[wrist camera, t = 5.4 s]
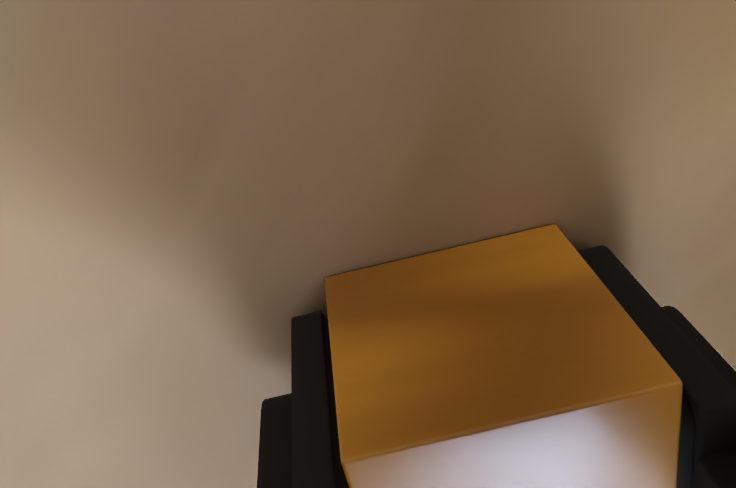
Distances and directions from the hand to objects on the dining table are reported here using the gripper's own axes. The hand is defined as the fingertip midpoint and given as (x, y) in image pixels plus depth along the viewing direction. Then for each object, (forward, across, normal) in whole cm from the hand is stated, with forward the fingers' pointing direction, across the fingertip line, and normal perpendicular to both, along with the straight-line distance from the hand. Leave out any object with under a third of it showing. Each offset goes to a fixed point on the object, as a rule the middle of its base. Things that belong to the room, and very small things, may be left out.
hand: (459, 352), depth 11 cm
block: (0, 0, 0) cm, 0 cm away
